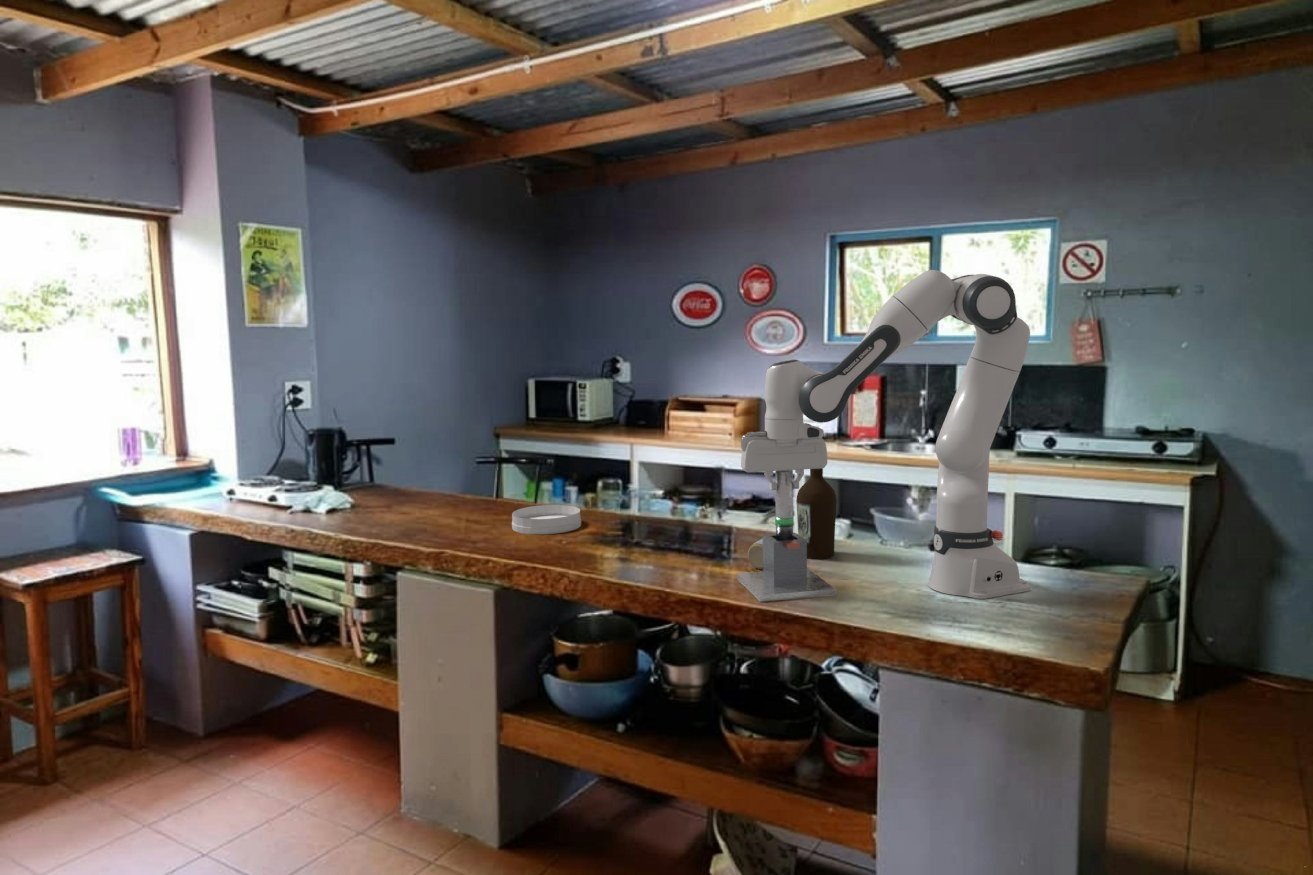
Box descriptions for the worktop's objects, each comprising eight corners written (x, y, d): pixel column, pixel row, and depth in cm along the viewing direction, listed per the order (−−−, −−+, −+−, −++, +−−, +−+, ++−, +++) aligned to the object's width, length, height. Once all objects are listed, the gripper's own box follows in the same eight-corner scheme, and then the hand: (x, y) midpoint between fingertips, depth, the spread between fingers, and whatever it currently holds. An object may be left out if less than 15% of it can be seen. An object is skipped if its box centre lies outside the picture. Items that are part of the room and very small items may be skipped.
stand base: (806, 573, 206) (806, 526, 205) (835, 595, 189) (835, 543, 187) (737, 579, 203) (736, 531, 201) (760, 601, 185) (759, 549, 184)
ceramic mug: (745, 568, 212) (745, 538, 211) (762, 560, 219) (763, 532, 218) (781, 575, 206) (781, 545, 205) (797, 568, 212) (798, 539, 211)
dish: (504, 524, 270) (503, 509, 270) (567, 516, 280) (567, 502, 279) (523, 538, 250) (522, 522, 250) (591, 529, 260) (590, 514, 259)
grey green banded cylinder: (789, 543, 197) (789, 468, 195) (796, 547, 193) (796, 471, 191) (772, 544, 196) (772, 469, 194) (778, 548, 192) (778, 472, 190)
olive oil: (824, 548, 230) (824, 459, 227) (843, 557, 220) (844, 465, 217) (789, 551, 227) (789, 462, 224) (807, 561, 217) (807, 467, 214)
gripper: (744, 433, 186) (745, 494, 188) (830, 429, 190) (830, 488, 192) (736, 430, 192) (737, 489, 194) (819, 427, 196) (819, 484, 198)
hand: (784, 489), depth 193 cm, fingers closed on grey green banded cylinder, 4 cm apart
